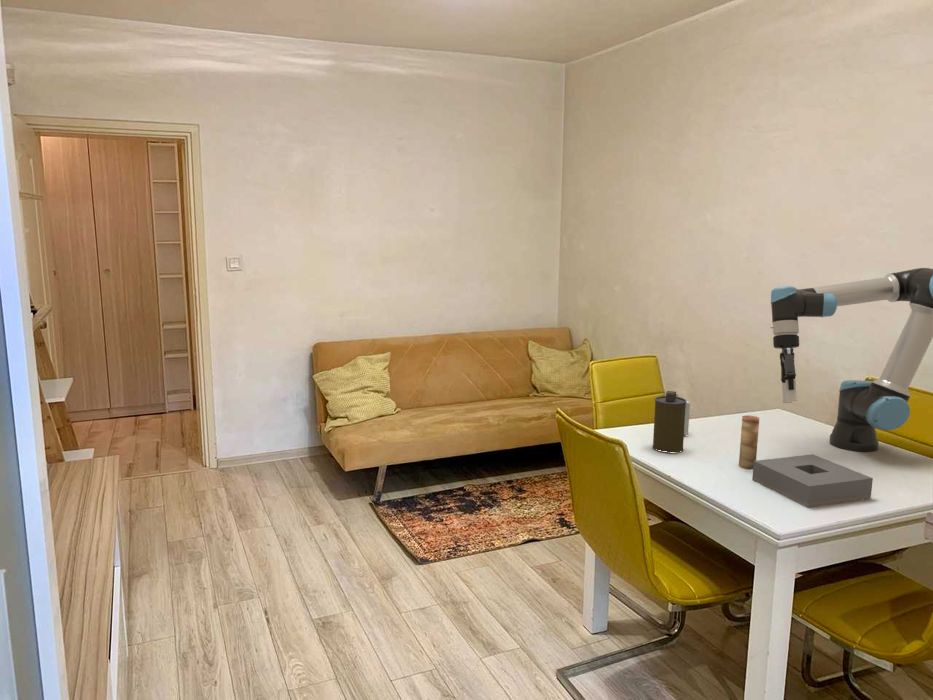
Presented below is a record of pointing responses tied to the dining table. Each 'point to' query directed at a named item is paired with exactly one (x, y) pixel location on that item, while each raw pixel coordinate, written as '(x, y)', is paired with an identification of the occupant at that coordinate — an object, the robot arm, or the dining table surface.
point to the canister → (669, 422)
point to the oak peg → (748, 441)
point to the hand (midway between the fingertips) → (789, 402)
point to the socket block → (812, 480)
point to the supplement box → (686, 418)
